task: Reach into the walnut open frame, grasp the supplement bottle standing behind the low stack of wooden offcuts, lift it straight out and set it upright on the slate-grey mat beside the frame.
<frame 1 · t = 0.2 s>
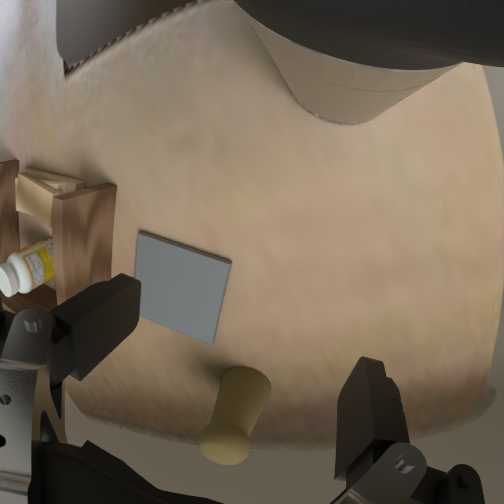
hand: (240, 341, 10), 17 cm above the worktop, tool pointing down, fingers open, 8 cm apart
offcut stack: (53, 192, 31), on the worktop
supplement bottle: (54, 255, 35), resting in walnut open frame
slate mat: (178, 288, 31), on the worktop
walnut open frame: (52, 235, 33), on the worktop
cork: (246, 383, 33), on the worktop
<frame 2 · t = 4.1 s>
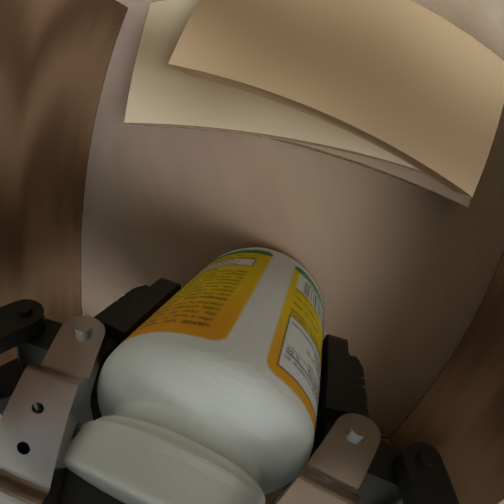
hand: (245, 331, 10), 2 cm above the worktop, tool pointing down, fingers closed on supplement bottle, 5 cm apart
offcut stack: (319, 83, 9), on the worktop
supplement bottle: (258, 303, 12), resting in walnut open frame, touching gripper
walnut open frame: (277, 238, 11), on the worktop
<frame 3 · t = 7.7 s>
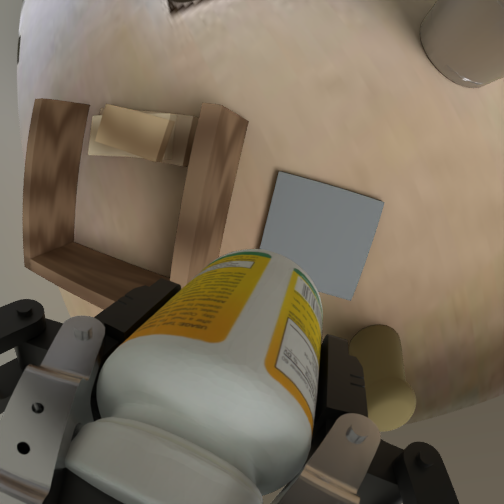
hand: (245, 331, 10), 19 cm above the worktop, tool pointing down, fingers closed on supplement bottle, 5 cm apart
offcut stack: (144, 134, 29), on the worktop
supplement bottle: (257, 305, 12), point 17 cm above the worktop, touching gripper
slate mat: (318, 236, 28), on the worktop
walnut open frame: (135, 188, 31), on the worktop
cork: (374, 347, 30), on the worktop
when the fingers open (4 cm above the worktop, at t = 11.8 s): supplement bottle drops 1 cm, resting on slate mat.
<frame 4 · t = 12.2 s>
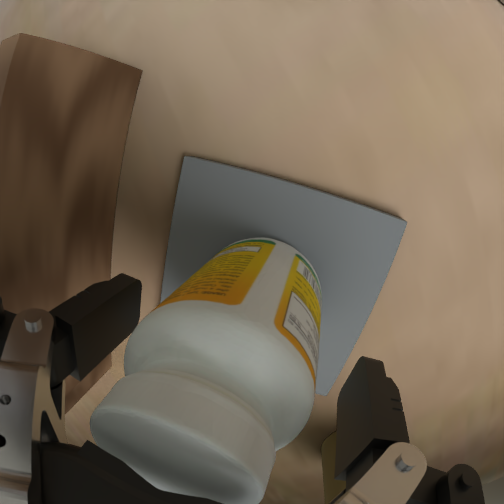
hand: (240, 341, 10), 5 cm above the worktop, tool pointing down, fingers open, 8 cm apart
supplement bottle: (262, 289, 14), point 1 cm above the worktop, touching slate mat
slate mat: (266, 285, 14), on the worktop
walnut open frame: (14, 194, 17), on the worktop
cork: (362, 445, 17), on the worktop
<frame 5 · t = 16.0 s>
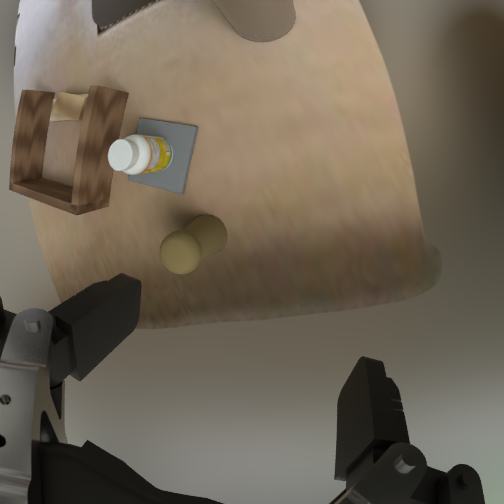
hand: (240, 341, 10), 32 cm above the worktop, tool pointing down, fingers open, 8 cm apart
offcut stack: (80, 107, 42), on the worktop
supplement bottle: (159, 154, 41), point 1 cm above the worktop, touching slate mat
slate mat: (161, 154, 42), on the worktop
walnut open frame: (74, 139, 45), on the worktop
cork: (208, 234, 44), on the worktop
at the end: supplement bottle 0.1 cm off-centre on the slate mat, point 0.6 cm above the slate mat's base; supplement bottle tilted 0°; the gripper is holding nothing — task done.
